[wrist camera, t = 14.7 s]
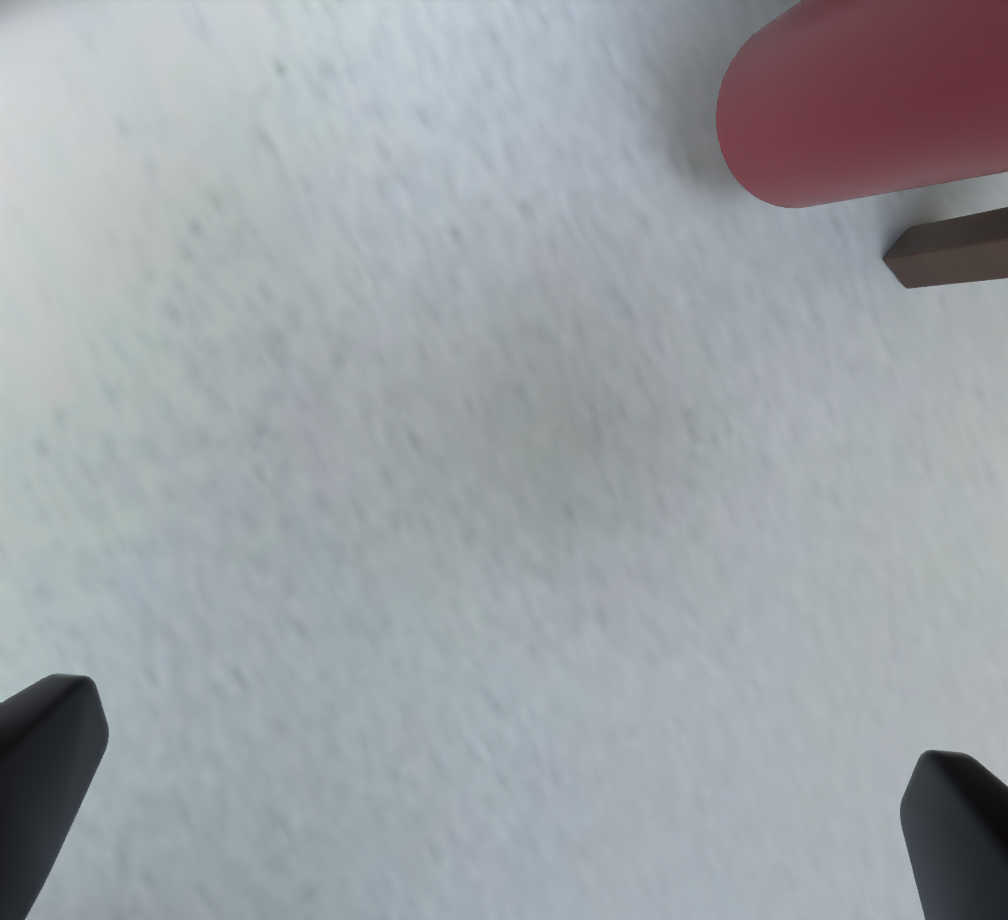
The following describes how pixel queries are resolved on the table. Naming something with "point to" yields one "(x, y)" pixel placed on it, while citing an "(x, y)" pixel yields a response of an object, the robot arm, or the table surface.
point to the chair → (953, 251)
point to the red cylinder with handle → (867, 99)
